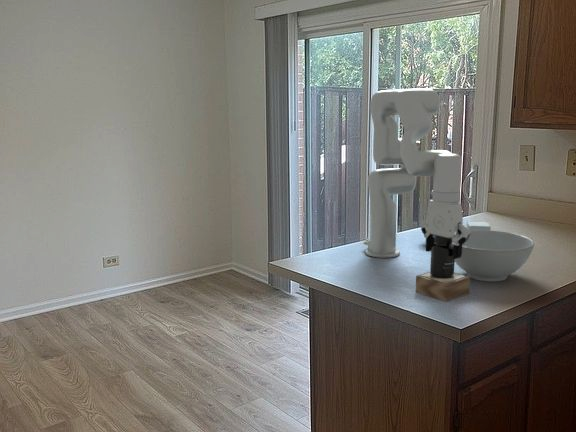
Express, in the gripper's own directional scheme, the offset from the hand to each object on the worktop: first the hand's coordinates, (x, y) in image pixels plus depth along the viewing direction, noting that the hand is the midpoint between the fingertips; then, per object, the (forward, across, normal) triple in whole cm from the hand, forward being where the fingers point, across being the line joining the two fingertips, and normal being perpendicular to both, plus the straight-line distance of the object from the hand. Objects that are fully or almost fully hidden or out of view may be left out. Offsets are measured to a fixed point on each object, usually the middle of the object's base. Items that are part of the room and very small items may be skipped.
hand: (443, 254), depth 168 cm
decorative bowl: (+12, 0, +24) cm, 27 cm away
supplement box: (+12, -14, +39) cm, 43 cm away
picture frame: (+12, +1, 0) cm, 12 cm away
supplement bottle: (+7, 0, 0) cm, 7 cm away
